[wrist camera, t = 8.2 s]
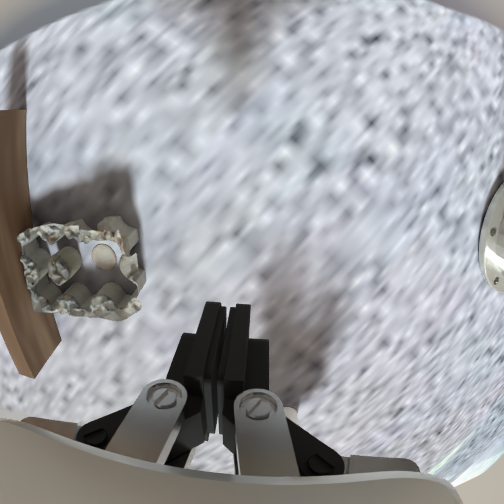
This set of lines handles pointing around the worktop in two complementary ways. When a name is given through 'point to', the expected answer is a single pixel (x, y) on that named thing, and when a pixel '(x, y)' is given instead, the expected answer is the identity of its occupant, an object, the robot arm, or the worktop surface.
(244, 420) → the robot arm
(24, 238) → the egg carton
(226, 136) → the worktop surface
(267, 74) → the worktop surface
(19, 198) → the walnut board
